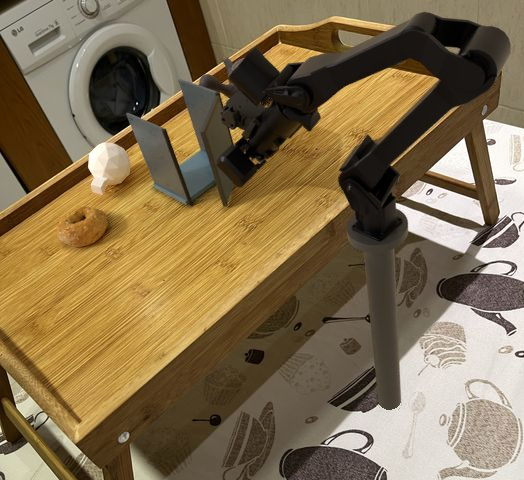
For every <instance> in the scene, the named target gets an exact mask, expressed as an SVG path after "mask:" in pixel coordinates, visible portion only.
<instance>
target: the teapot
mask: <svg viewBox="0 0 524 480" xmlns="http://www.w3.org/2000/svg"><path fill="white" fill-rule="evenodd" d="M244 58H245V57H243V58H240V59H238V60H236V62H233V61H232V60H231V58H229V57H228V56H223V57H222V59H221V62H222V63H223V64H224V66H225V68H226V72H227V76H228V77H227V78H229V76H230V74H231V73H232V71H233V70H234V69H235V68H236V67H237V66H238V65H239V64H240V63H241V62H242V61H243V59H244ZM198 85H199V86H202V87H205V88H208V89H211V90H214V91H217V92H220V94H222V95H224V96H225V97H226V98H228V99H230V98H231V97H232V96H233V95H234V94H235V93H236V92H238V91H239V90H238V89H237V88H236V87H235V86H234V85H233V84H232V83H231V82H230V81H229V80H228V84H225V83H222V82H220V80H218V78H217V77H215V76H214V75H212V74H209V73H206V74H202V75H201V77H199V81H198ZM269 100H271V98H269V99H268V100H267V101H269ZM260 103H261V102H260ZM261 104H262V103H261Z"/></svg>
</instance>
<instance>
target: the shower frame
mask: <svg viewBox="0 0 524 480" xmlns="http://www.w3.org/2000/svg"><path fill="white" fill-rule="evenodd" d="M177 81H178V84H179V87H180V90H181V93H182V96H183V100H184V103H185V106H186V109H187V111H188V115H189V118H190V121H191V124H192V127H193V130H194V135H195V137H196V140H197V143H198V146H199V149H200V150H199V151H197V152H195V154H193V155H191V156H190V157H189V158H187V159H186V160H184V161H183V162H182V163H179V161H178V158H177V155H176V153H175V150H174V147H173V144H172V141H171V139H170V136H169V133H168V130H167V128H164V127H163V126H160V125H158V124H155V123H153V122H150V121H148V120H146V119H144V118H141V117H139V116H137V115H134V114H132V113H130V112H126V114H125V115H126V117H127V120H128V122H129V125H130V127H131V130H132V133H133V135H134V137H135V139H136V142H137V144H138V147H139V150H140V152H141V154H142V157H143V159H144V162H145V164H146V167H147V169H148V171H149V174H150V176H151V179H152V182H153V184H152V185H153V188H154V189H156V190H157V191H160V192H162V193H163V194H166V195H167V196H169V197H171V198H173V199H174V200H176V201H178V202H180V203H183V204H184V205H186V206H188V205H189V206H190V207H193V206H194V202H193V201H195V200H196V199H197V198H198V197H200V196H201V195H202V194H204V193H205V192H207V191H208V190H209V189H211V188H212V187H213V186H214V185H216V182H215V178H214V175H213V172H212V169H211V166H210V163H209V159H208V156H207V153H206V150H205V147H204V143H203V140H202V137H201V134H200V131H201V128H202V126H203V124H204V121H205V119H206V117H207V114H208V112H209V109H210V107H211V105H212V102H213V100H214V98H215V96H217V95H219V97H220V102H221V106H222V110H223V107H224V106H225V105H224V103H223V100H222V95H221V93H220V92H217V91H214V90H211V89H208V88H205V87H202V86H200V85H199V84H197V83H194V82H190V81H188V80H184V79H182V78H179V79H178V80H177ZM227 128H228V127H227ZM228 132H229V135H230V139H231V143H232V145H235V143H234V139H233V136H232V132H231V129H230V128H228Z"/></svg>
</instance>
